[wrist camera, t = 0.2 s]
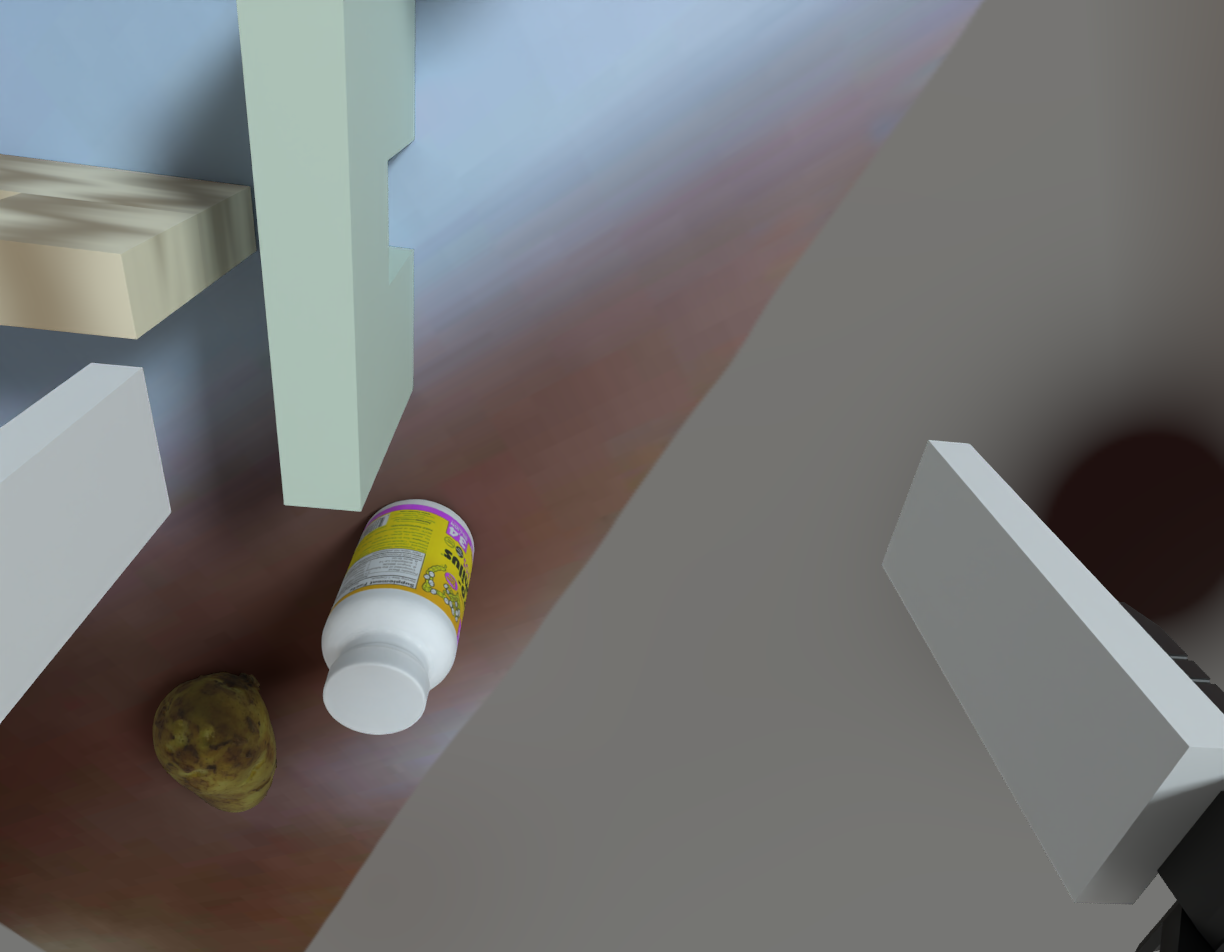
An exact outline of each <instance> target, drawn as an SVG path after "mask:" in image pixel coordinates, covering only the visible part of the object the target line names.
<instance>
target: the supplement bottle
mask: <svg viewBox="0 0 1224 952" xmlns="http://www.w3.org/2000/svg"><path fill="white" fill-rule="evenodd" d="M473 557H474V542H473V538H472V535H471V533H470V531H469V529H468V527H467V525H466V524H465V522H464V521H463V520H462V519H461V518H460V517H459V516H458V515H457V514H456V513H454V512H453V511H452V510H450V509H449V508H447V507H445V506H443V505H441V504H438V503H435V502H432V501H428V500H422V499H411V500H402V501H398V502H394V503H392V504H389V505H387V506H385V507H383V508H382V509H380V510H379V511H378V512H376V513H375V514H374V515H373V516H372V518H371V519H370V520H369V522H368V523H367V525H366V527H365V529H364V531H363V533H362V535H361V538H360V540H359V542H358V545H357V547H356V550H355V553H354V555H353V557H352V560H351V562H350V565H349V568H348V570H347V573H346V575H345V577H344V580H343V582H342V585H341V587H340V590H339V592H338V595H337V597H336V600H335V602H334V605H333V607H332V609H331V612H330V614H329V616H328V619H327V621H326V624H325V626H324V630H323V634H322V652H323V657H324V659H325V662H326V664H327V666H328V668H329V673H328V676H327V679H326V683H325V686H324V690H323V700H324V704H325V706H326V708H327V710H328V712H329V713H330V714H331V716H332V717H333V718H334V719H335V720H337V721H338V722H339V723H341V724H342V725H344V726H346V727H348V728H350V729H352V730H354V731H358V732H361V733H366V734H375V735H379V734H390V733H395V732H399V731H402V730H404V729H406V728H408V727H410V726H412V725H413V724H414V723H415V722H417V721H418V719H419V718H420V717H421V716H422V714H423V712H424V709H425V706H426V702H427V697H428V693H429V690H431V689H432V688H434V687H435V686H436V685H438V684H439V683H440V682H441V681H442V680H443V679H444V678H445V677H446V675H447V674H448V672H449V671H450V669H451V667H452V665H453V663H454V660H455V656H456V651H457V645H458V640H459V634H460V629H461V623H462V618H463V613H464V608H465V602H466V597H467V592H468V586H469V581H470V575H471V570H472V564H473Z"/></svg>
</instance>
